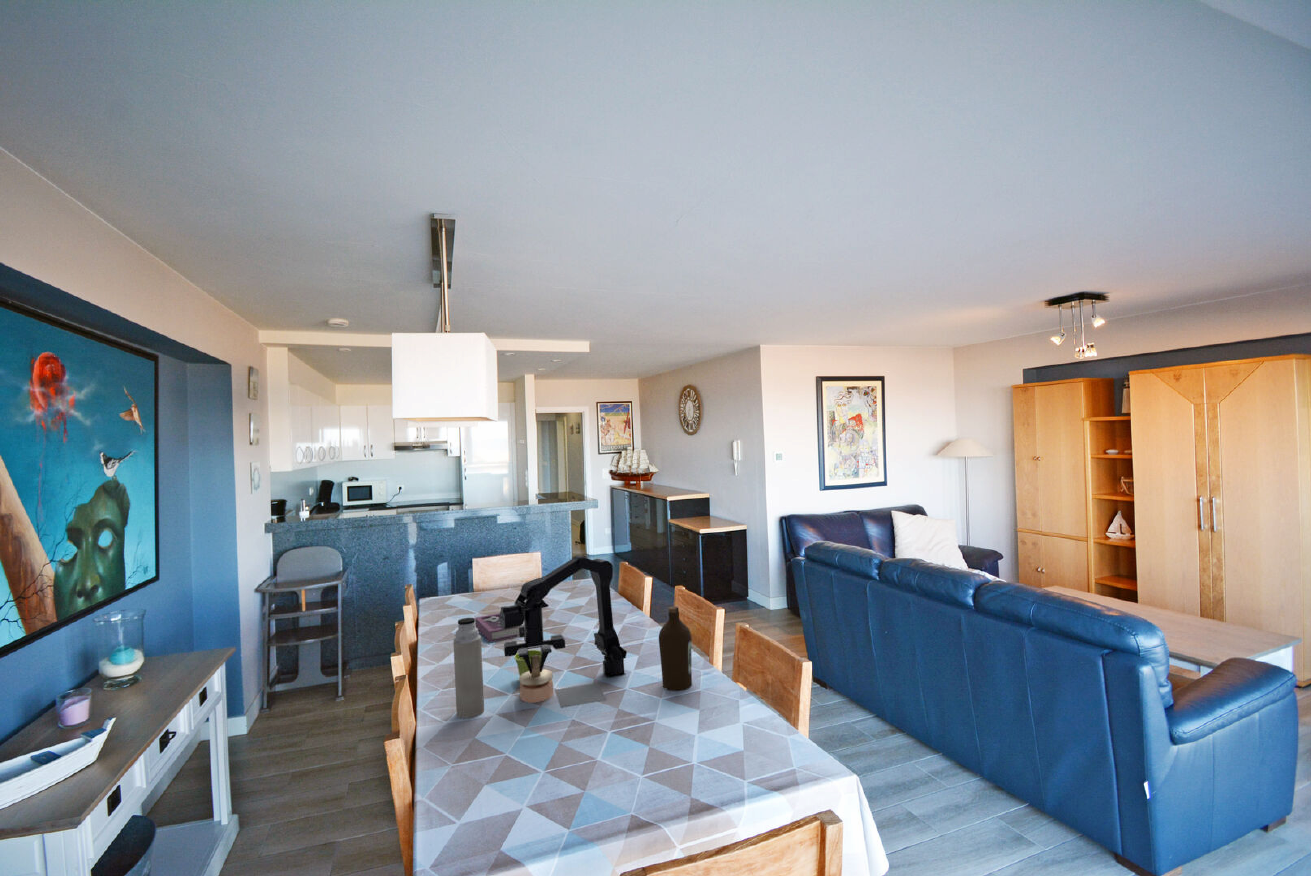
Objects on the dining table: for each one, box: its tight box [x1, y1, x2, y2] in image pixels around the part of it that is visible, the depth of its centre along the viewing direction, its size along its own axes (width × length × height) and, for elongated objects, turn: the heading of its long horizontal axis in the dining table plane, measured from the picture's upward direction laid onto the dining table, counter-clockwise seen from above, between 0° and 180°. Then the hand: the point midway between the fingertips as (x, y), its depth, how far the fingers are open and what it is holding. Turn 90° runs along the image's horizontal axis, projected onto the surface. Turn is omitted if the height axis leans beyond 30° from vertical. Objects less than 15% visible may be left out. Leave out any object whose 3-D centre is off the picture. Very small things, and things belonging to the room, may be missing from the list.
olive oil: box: [658, 605, 693, 692], centre depth 191 cm, size 11×11×25 cm
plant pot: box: [513, 649, 541, 676], centre depth 200 cm, size 9×9×9 cm
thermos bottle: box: [453, 617, 485, 719], centre depth 178 cm, size 8×8×28 cm
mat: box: [554, 682, 608, 709], centre depth 185 cm, size 14×14×1 cm
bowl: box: [519, 679, 554, 704], centre depth 186 cm, size 10×10×4 cm
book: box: [474, 612, 524, 643], centre depth 258 cm, size 25×16×5 cm, turn 30°
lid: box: [518, 655, 554, 686], centre depth 186 cm, size 10×10×7 cm
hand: (535, 672), depth 186 cm, fingers closed on lid, 3 cm apart
